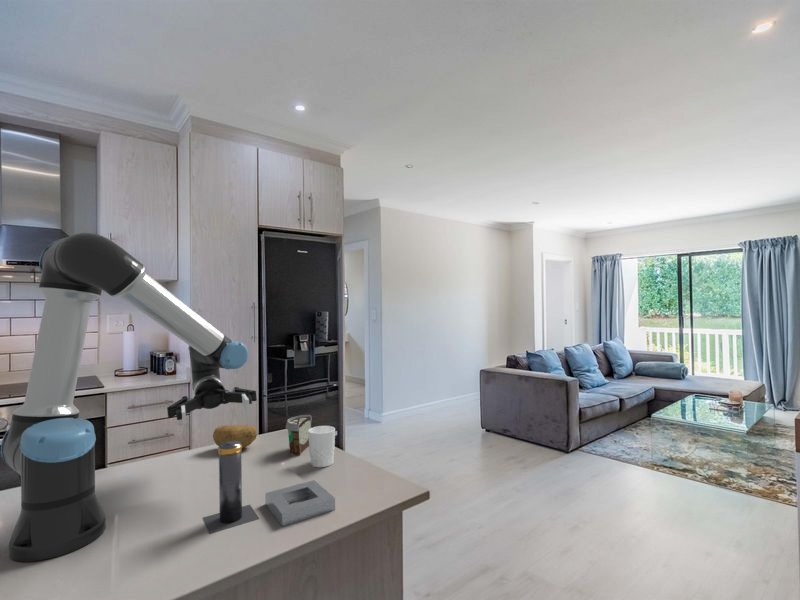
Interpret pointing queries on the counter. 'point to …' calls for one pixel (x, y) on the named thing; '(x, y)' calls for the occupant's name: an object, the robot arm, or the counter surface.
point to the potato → (235, 434)
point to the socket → (303, 510)
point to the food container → (298, 433)
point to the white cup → (321, 445)
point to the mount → (215, 524)
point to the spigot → (230, 481)
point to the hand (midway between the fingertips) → (217, 411)
